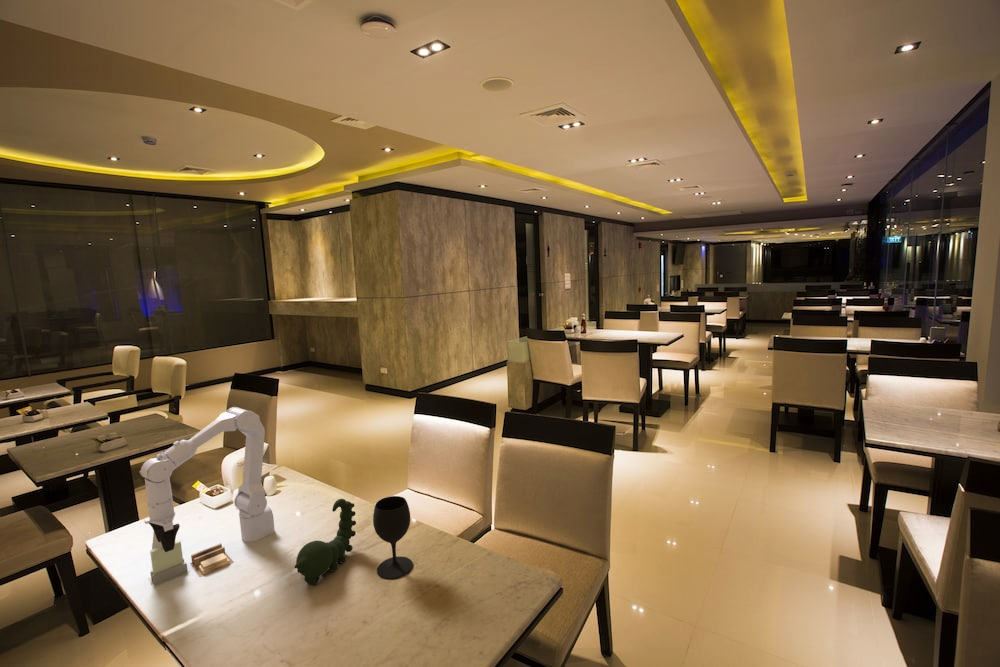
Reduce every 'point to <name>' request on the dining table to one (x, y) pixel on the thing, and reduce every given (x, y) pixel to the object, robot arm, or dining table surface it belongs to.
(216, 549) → the walnut rack
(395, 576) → the wine glass
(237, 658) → the dining table surface
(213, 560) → the upper pine offcut
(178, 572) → the slate stand
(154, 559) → the sage sheet
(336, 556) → the toy figurine
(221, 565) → the lower pine offcut
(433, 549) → the dining table surface
